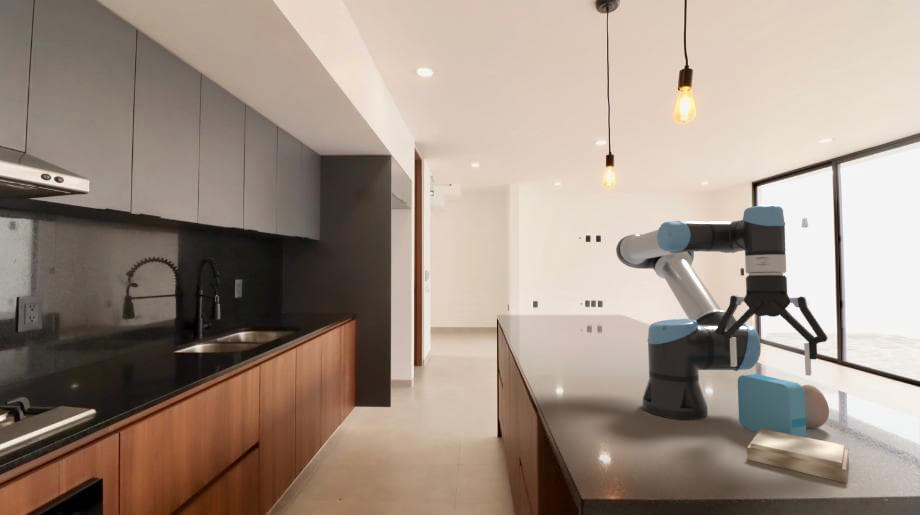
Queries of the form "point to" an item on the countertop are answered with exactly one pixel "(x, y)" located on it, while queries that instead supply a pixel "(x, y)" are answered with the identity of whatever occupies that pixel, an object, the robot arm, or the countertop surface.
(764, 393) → the blue box
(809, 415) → the egg
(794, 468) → the stand
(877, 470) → the countertop surface
